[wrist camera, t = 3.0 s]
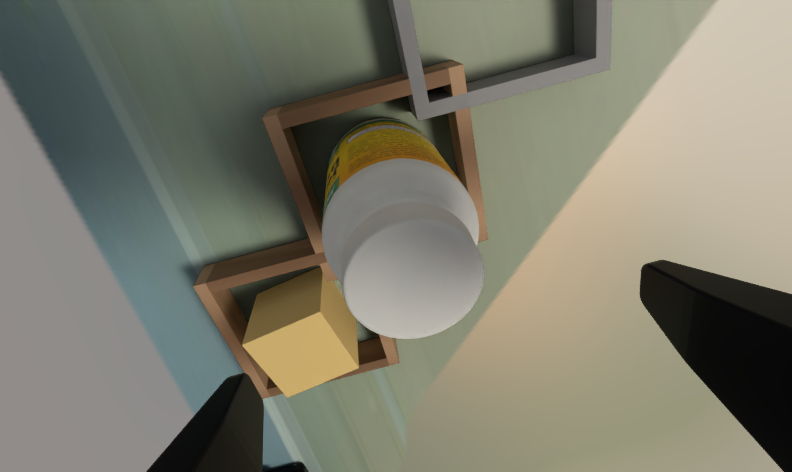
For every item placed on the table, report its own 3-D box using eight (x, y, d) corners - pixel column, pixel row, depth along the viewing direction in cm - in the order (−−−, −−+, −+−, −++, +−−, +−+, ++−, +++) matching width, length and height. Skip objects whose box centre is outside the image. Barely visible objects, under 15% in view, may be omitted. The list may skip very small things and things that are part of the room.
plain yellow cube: (356, 316, 24) (358, 368, 20) (294, 342, 24) (287, 397, 21) (323, 264, 22) (320, 311, 18) (257, 293, 22) (241, 345, 19)
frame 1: (477, 223, 22) (488, 239, 20) (327, 262, 22) (326, 282, 20) (452, 60, 18) (463, 64, 16) (269, 109, 18) (262, 118, 16)
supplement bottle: (440, 214, 21) (505, 345, 13) (336, 228, 21) (334, 372, 12) (435, 108, 19) (514, 184, 10) (317, 121, 18) (297, 212, 10)
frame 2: (395, 340, 25) (399, 362, 23) (265, 375, 25) (260, 399, 23) (359, 224, 21) (360, 241, 19) (204, 266, 21) (193, 286, 19)
